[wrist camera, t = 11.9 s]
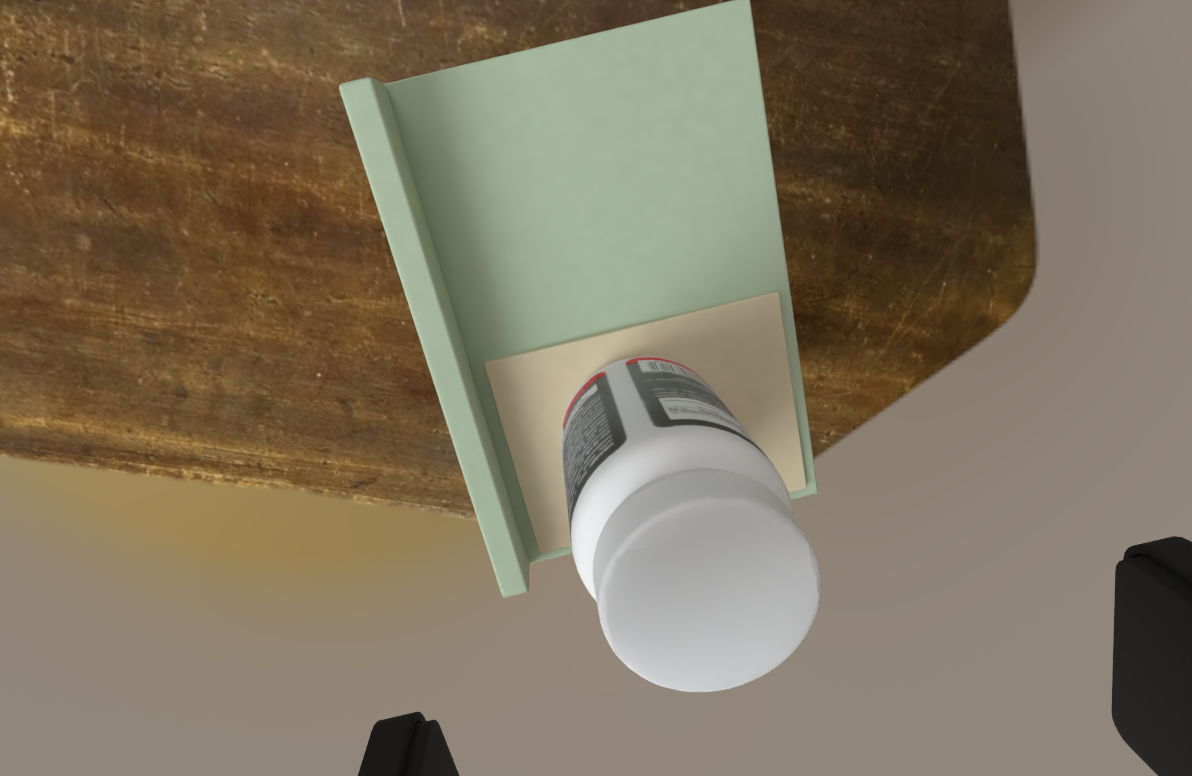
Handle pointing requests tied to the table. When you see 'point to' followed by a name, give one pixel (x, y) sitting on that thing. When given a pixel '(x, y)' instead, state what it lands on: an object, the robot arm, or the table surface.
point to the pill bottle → (683, 530)
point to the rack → (586, 247)
